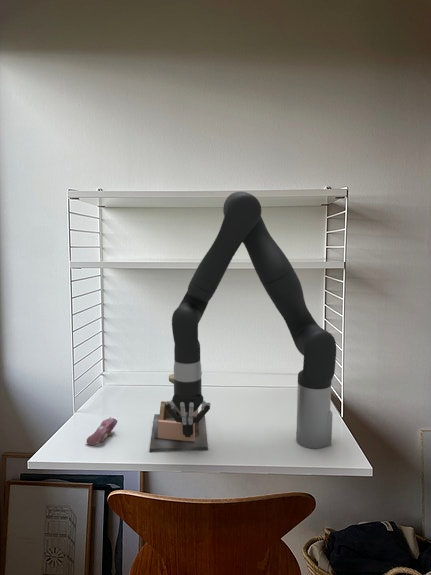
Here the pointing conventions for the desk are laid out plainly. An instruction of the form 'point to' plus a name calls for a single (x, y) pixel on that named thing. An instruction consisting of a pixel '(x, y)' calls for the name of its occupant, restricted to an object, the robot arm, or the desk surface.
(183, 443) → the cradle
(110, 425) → the mauve rounded lump
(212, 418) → the desk surface
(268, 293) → the robot arm
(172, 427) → the gate
